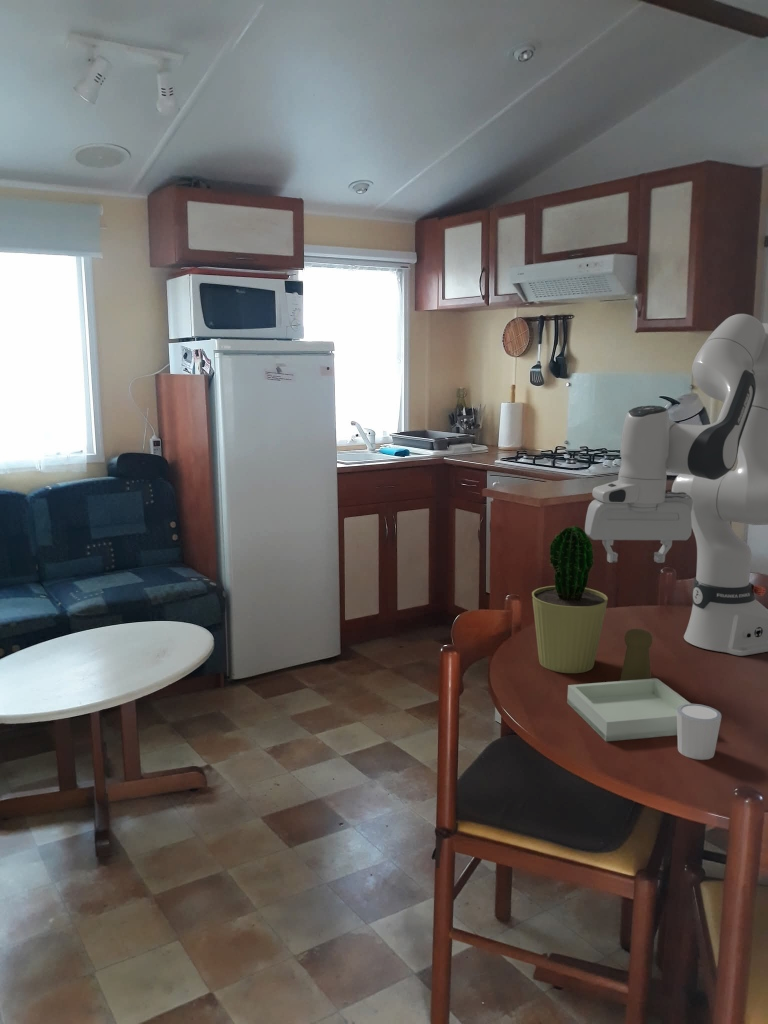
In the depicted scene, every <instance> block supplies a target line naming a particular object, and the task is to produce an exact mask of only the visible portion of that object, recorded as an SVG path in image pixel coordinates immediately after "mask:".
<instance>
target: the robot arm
mask: <svg viewBox="0 0 768 1024" xmlns="http://www.w3.org/2000/svg"><path fill="white" fill-rule="evenodd" d="M691 373H692V374H691V375H692V378H693V381H694V383H695V384H696V386H697V387H698V389H700V390H701V392H702V393H703V394H705V395H706V396H708V397H709V398H712V399H714V400H718V401H721V402H723V404H722V407H721V410H720V412H719V415H718V417H717V420H716V421H715V422H713V423H708V424H690V423H689V424H687V423H679V422H676V421H674V420H672V419H671V418H670V413H669V409H668V408H667V407H664V406H661V405H642V406H636V407H633V408H631V409H629V411H627V413H626V415H625V418H624V421H623V425H622V430H621V431H622V432H621V438H620V450H619V451H620V452H619V454H620V458H621V462H620V463H621V464H620V469H619V471H618V475H617V479H616V480H614V481H611V482H608V483H607V482H606V483H604V484H601V485H597V486H595V487H593V489H592V492H591V493H592V494H591V495H592V497H593V498H594V499H593V500H592V501H591V502H590V503H589V504H588V507H587V512H586V516H585V522H584V532H585V533H586V536H587V538H589V539H590V540H593V541H599V540H600V541H602V545H603V547H604V549H605V552H606V553H607V554H606V561H607V562H609V563H610V564H611V563H618V557H619V553H617V552H616V551H613V549H612V547H611V546H614V541H660V544H662V546H660V548H659V550H658V551H655V552H653V556H654V557H653V560H654V561H653V562H656V563H658V564H660V563H665V562H666V555H667V553H668V552H669V551H670V549H671V548H672V546H673V541H688V539H689V538H690V537H691V536H692V531H693V535H694V537H695V543H696V574H695V575H696V576H695V577H694V578H693V585H692V607H691V613H690V618H689V621H688V624H687V627H686V630H685V633H684V634H683V638H684V640H685V641H686V643H688V644H690V645H693V646H695V647H698V648H700V649H705V650H709V651H714V652H721V653H727V654H730V655H734V656H740V657H744V656H749V655H755V654H761V653H765V652H768V608H766V607H765V606H764V605H763V604H762V603H761V602H759V601H758V600H757V599H756V596H755V594H757V595H758V596H759V597H760V596H761V597H763V596H764V595H765V594H766V591H767V590H766V588H765V587H763V586H761V585H759V584H756V585H754V584H753V583H752V582H750V579H751V578H750V577H751V566H752V556H753V553H752V551H751V548H750V545H748V543H747V542H746V541H745V540H743V539H742V538H741V537H739V535H737V534H736V532H735V530H733V527H732V525H731V522H733V523H738V524H744V525H752V526H767V525H768V323H767V322H765V323H764V322H761V321H760V320H759V319H758V318H756V317H755V316H754V315H751V314H747V313H736V314H734V315H731V316H729V317H727V318H725V320H723V321H722V322H721V323H720V324H719V325H718V326H717V327H716V328H715V329H714V330H713V332H712V333H711V334H710V335H709V336H708V338H706V340H705V342H704V343H703V344H702V346H701V347H700V349H699V350H698V352H697V354H696V355H695V357H694V359H693V362H692V365H691ZM736 461H737V465H736V467H735V470H732V469H733V468H734V466H735V464H736ZM667 473H674V474H678V475H677V476H676V477H675V478H674V481H673V483H672V486H671V491H666V488H667Z"/></svg>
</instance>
